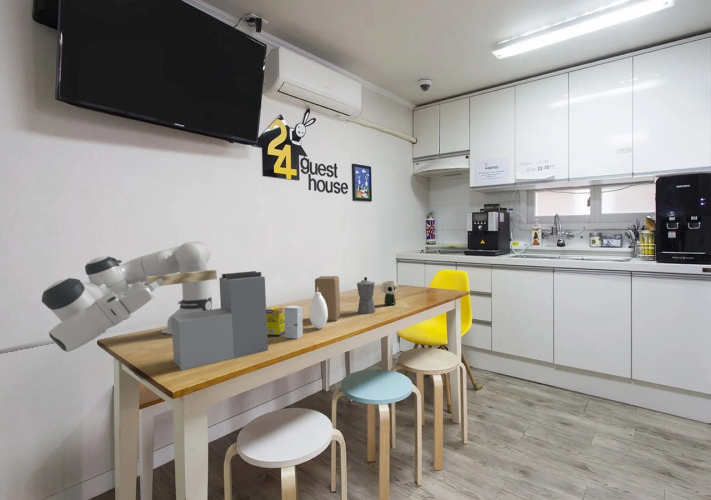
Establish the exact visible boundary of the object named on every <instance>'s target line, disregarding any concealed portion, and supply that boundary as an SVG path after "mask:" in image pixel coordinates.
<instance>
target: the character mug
mask: <svg viewBox="0 0 711 500" xmlns="http://www.w3.org/2000/svg"><path fill="white" fill-rule="evenodd" d="M398 289H399V285H398V283H397V282H396V281H395V280H385V281H384V280H383V282H382V285H381V286H380V291H381V292H383V293H384V294H385V295H384V304H385V305H387V306H391V305H396V297H395V294H396V293H397V291H398Z"/></svg>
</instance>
